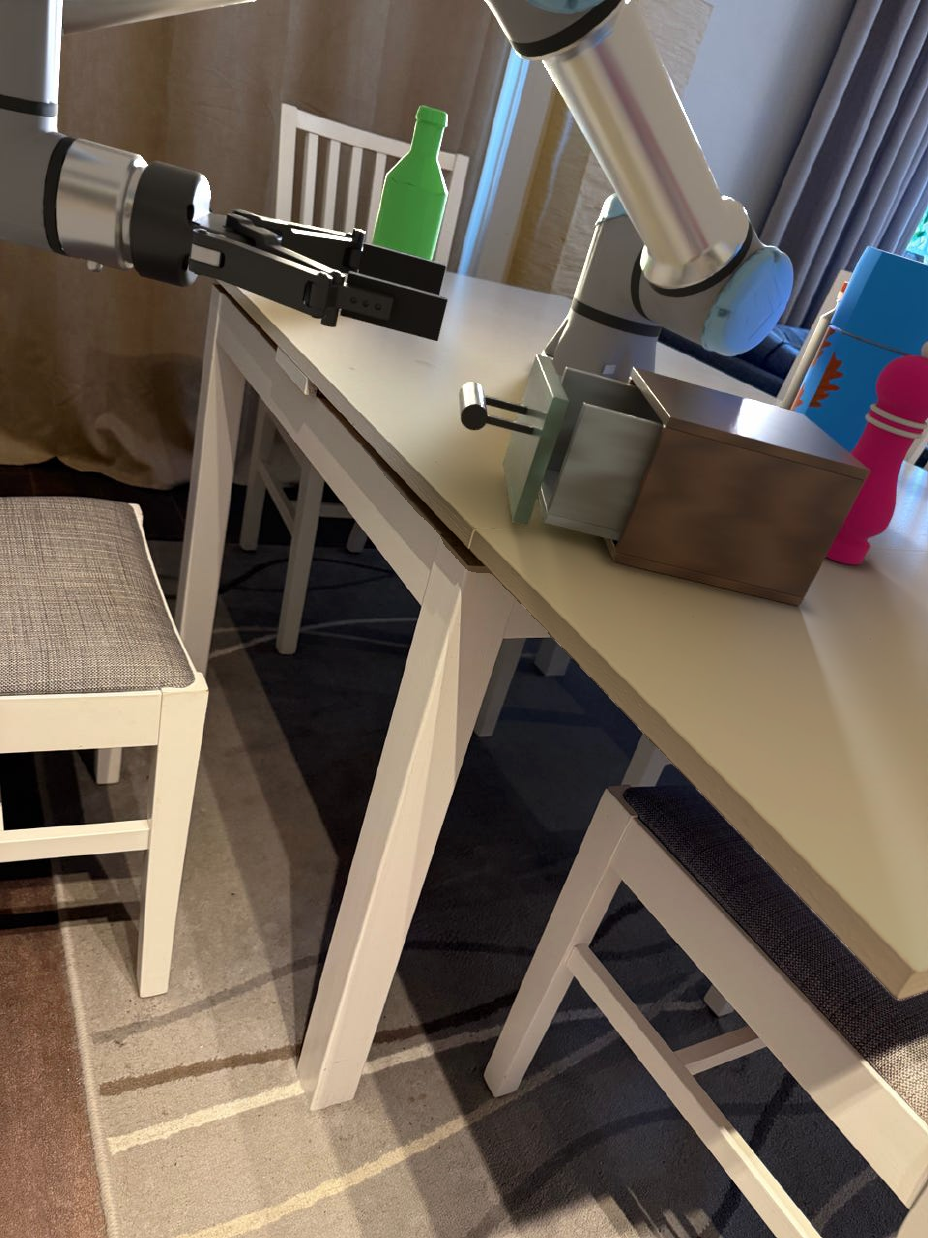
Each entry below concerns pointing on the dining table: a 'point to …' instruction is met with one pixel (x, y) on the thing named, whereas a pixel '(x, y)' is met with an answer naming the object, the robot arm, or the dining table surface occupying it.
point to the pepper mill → (884, 452)
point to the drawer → (571, 446)
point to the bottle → (415, 192)
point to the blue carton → (865, 343)
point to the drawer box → (736, 493)
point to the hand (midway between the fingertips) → (442, 299)
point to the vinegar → (810, 354)
